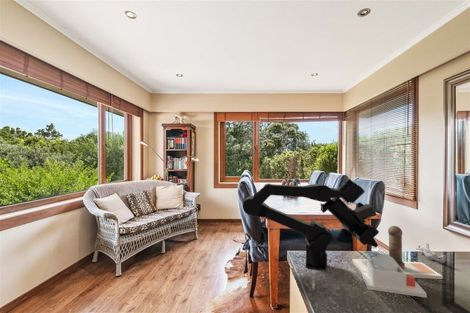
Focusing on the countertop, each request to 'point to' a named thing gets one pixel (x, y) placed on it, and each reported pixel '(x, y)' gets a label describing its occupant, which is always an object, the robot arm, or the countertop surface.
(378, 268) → the dome
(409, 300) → the countertop surface
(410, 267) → the game track
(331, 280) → the countertop surface
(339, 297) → the countertop surface
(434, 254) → the soldier figure
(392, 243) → the pawn
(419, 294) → the base
